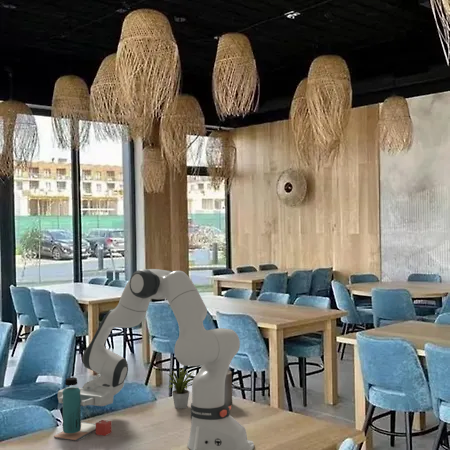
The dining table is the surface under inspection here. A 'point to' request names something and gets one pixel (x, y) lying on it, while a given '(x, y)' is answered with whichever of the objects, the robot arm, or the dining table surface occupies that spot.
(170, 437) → the dining table surface
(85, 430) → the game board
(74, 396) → the beverage bottle
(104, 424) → the red die
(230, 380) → the pillar candle
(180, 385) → the house plant
